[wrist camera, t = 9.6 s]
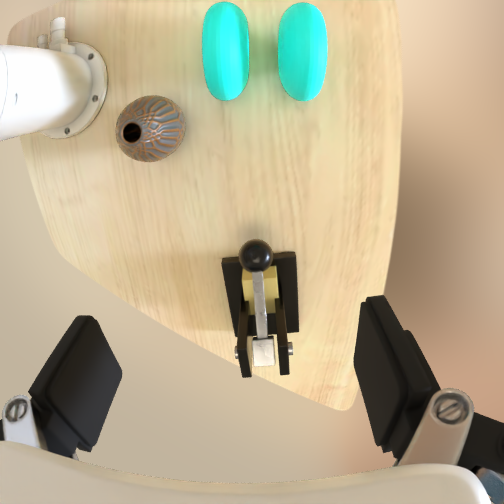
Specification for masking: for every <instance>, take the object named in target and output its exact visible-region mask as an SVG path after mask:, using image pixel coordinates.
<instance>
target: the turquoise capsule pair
mask: <svg viewBox="0 0 504 504" xmlns="http://www.w3.org/2000/svg"><path fill="white" fill-rule="evenodd" d="M202 55H203V66H204V74H205V79H206V83H207V86H208V89H209V91H210V93H211V94H212V95H213V96H214V97H215V98H217V99H219V100H223V101H228V100H232V99H234V98H236V97H237V96H239V95H240V93H241V92H242V91H243V90H244V88H245V86H246V84H247V81H248V76H249V32H248V22H247V19H246V16H245V14H244V13H243V11H242V10H241V9H240V8H239V7H238V6H236V5H235V4H233V3H230V2H219V3H216V4H214V5H213V6H211V7H210V8H209V9H208V11H207V13H206V15H205V19H204V23H203V32H202ZM326 64H327V33H326V26H325V22H324V18H323V16H322V14H321V12H320V11H319V10H318V9H317V8H316V7H315V6H314V5H312V4H309V3H303V2H302V3H297V4H294V5H292V6H290V7H289V8H288V9H287V10H286V11H285V13H284V14H283V16H282V18H281V21H280V26H279V36H278V66H279V76H280V80H281V83H282V86H283V88H284V89H285V91H286V92H287V93H288V94H289V95H290V96H291V97H292V98H294V99H296V100H299V101H309V100H311V99H313V98H314V97H315V96H317V94H318V93H319V92H320V89H321V87H322V85H323V81H324V77H325V72H326Z"/></svg>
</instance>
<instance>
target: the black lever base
mask: <svg viewBox="0 0 504 504" xmlns="http://www.w3.org/2000/svg"><path fill="white" fill-rule="evenodd" d="M221 264H222V270H223V275H224V281H225V286H226V291H227V297H228V302H229V307H230V312H231V318H232V323H233V328H234V333H235V337H238V338H237V346H235V358H236V359H239V364H240V368H241V373H242V377H243V378H246V377H252V339H253V336H257V328H256V316H255V314H254V315H251V311H250V304H249V301H245V299H244V292H243V286H242V273H243V269H244V268H243V267H242V266H241V264H240V261H239V257H233V258H223V259H222V263H221ZM271 266H276V273H277V284H278V296H279V298H275V313H267V314H266V315H267V328H268V335H272V334H277V343H278V355H279V367H280V375H289V374H290V372H289V355H293V346H292V342H288V340H287V333H294V332H299V314H298V287H297V266H296V254H295V252H287V253H276V254H273V261H272V264H271Z"/></svg>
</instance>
